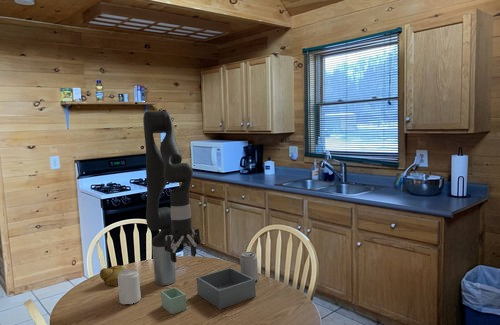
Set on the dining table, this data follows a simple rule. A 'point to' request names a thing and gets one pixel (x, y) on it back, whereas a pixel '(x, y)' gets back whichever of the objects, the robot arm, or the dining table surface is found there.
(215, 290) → the big crate
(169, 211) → the robot arm
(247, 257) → the can
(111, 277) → the bread roll
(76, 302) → the dining table surface
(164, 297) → the small crate
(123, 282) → the white cylinder
